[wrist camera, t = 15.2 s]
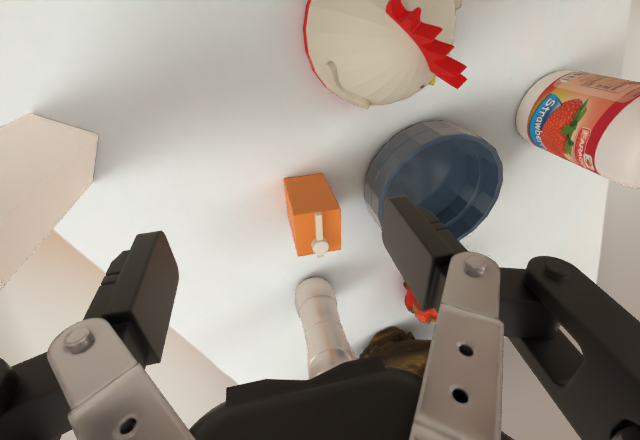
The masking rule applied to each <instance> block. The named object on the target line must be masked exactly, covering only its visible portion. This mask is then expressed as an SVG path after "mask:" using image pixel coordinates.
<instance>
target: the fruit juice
mask: <svg viewBox="0 0 640 440" xmlns="http://www.w3.org/2000/svg"><path fill="white" fill-rule="evenodd" d="M516 126H517V130H518V132H519V134H520V135H521V137H522V138H523V139H524V140H526V141H527V142H529V143H531V144H533V145H535V146H537V147H540V148H542V149H544V150H546V151H548V152H551V153H553V154H555V155H557V156H559V157H561V158H564V159H566V160H568V161H570V162H572V163H575V164H577V165H579V166H581V167H583V168H586V169H588V170H590V171H592V172H594V173H597V174H599V175H601V176H603V177H605V178H607V179H609V180H612V181H614V182H617V183H619V184H622V185H625V186H628V187H632V188H638V189H640V82H634V81H629V80H623V79H618V78H612V77H607V76H601V75H595V74H590V73H584V72H579V71H573V70H562V71H557V72H553V73H551V74H548V75H546V76H545V77H543V78H541V79H540V80H539V81H537V82H536V83H535V84H534V85H533V86H532V87H531V88H530V89H529V91H528V92H527V93H526V95H525V96H524V98H523V100H522V101H521V103H520V106H519V108H518V112H517V116H516Z"/></svg>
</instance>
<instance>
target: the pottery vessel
mask: <svg viewBox="0 0 640 440" xmlns="http://www.w3.org/2000/svg"><path fill="white" fill-rule="evenodd" d="M431 341H432V340H416V339H415V338H414V336H413V335H412V332H410V331H409V333H408V334H405V333H404V332H403V330H400V329H398V328H396V327H394V328H391V329H388V330H386V332H382V333H380V334H377V335H375V336H374V338H373V340H372V341H371V343H370V345H369V346H368V347H367V348H366V349H365V350H364V351H363V353H362V354H360V358H359V359H361V358H366V357H371V356H375V355H380V357H381V359H382V362H383V364H384V366H390V367H396V368H401V369H404V370H408V371H410V372H413V373H415V374H417V375H419V376H421V377H423V375H424V371H425V367H426V363H427V358H428V354H429V350H430V345H431Z"/></svg>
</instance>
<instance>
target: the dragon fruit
mask: <svg viewBox="0 0 640 440" xmlns="http://www.w3.org/2000/svg"><path fill="white" fill-rule="evenodd" d="M404 287H405V288H406V289H407V294H406V296H405V305H406V307H407V309H408V310H409V311H411V312H412V313H415V316H416V317H417V318H418V319H419V320H420V321H422V322H423V323H427V324H429V323H430V322H431V321H433V322H436V320H437V315H438V313H437V312H436V310H435V309H430V310H425V311H422V309H421V307H420V305H419V304H418V302H417V300H416V299H415V297H414V295H413V294H412V292H411V290H410V288H409V287H408V285H407V283H405V282H404Z"/></svg>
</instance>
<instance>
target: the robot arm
mask: <svg viewBox="0 0 640 440" xmlns="http://www.w3.org/2000/svg"><path fill="white" fill-rule="evenodd" d="M382 238H383V243H384V245H385V248H386V249H387V251H388V253H389V254H390V256H391V258H392V259H393V261H394V263H395V265H396V266H397V268H398V270H399V271H400V273H401V275H402V276H403V278H404V280H405V282H406V283H407V285H408V287H409V288H410V290H411V292H412V294H413V295H414V297H415V299H416V300H417V302H418V304H419V305H420V307H421V309H422V311H425V310H430V309H435V310H436V312H437V313H438V315H437V320H436V324H435V328H434V333H433V337H432V341H431V345H430V350H429V354H428V358H427V363H426V367H425V371H424V375H423V377H421V376H419V375H417V374H415V373H413V372H410V371H408V370H404V369H401V368H396V367H390V366H384V364H383V362H382V359H381V357H380V355H375V356H371V357H366V358H361V359H357V360H352V361H348V362H344V363H342V364H340V365H338V366H336V367H334V368H332V369H330V370H328V371H326V372H324V373H322V374H320V375H318V376H316V377H314V378H312V379H309V380H275V379H265V380H260V381H255V382H251V383H246V384H241V385H237V386H232V387H228V388H227V390H226V392H227V393H226V401H225V402H223V403H221V404H220V405H218V406H216V407H215V408H213V409H212V410H210V411H209V412H208V413H207V414H205V415H204V416H203V417H202V418H200V419H199V420H198V421H197V422H196V423H195V424H194V425H193V426H192V427H191V428H190V430H188V428H187V427H186V426H185V424H184V423H183V422H182V420H181V419H180V418H179V416H178V415H177V413H176V412H175V411H174V410H173V408H172V407H171V405H170V404H169V403H168V401H167V400H166V398H165V397H164V396H163V394H162V393H161V392H160V391H159V389H158V388H157V386H156V385H155V384H154V382H153V381H152V379H151V378H150V377H149V375H148V374H147V373H146V371H145V367H146V365H151V364H156V363H160V361H161V357H162V352H163V348H164V344H165V339H166V335H167V330H168V326H169V321H170V317H171V312H172V308H173V304H174V299H175V295H176V290H177V286H178V281H179V272H178V267H177V263H176V261H175V258H174V256H173V253H172V251H171V248H170V246H169V243H168V241H167V238H166V236H165V234H164V232H162V231H157V232H150V233H143V234H138V235H137V236H136V238H135V240H134V242H133V245H132V247H131V249H130V250H128V251H123V252H122V253H121V254H120V255H119V256H118V257H117V258H116V259H115V260H114V261H112V263H111V265H110V267H109V269H108V271H107V273H106V276H105V277H104V279H103V281H102V283H101V286H100V287H99V289H98V291H97V293H96V295H95V297H94V299H93V301H92V303H91V305H90V307H89V309H88V311H87V313H86V315H85V317H84V319H83V321H80V322H78V323H75V324H74V325H72V326H70V327H68V328H67V329H66V330H64V331H63V332H61V333H60V334H59V335H58V336H57V337H56V338H55V339H54V341H53V342H52V343H51V345H50V346H49V348H48V351H47V352H46V353H43V354H41V355H38V356H36V357H34V358H31V359H29V360H26V361H24V362H22V363H19V364H17V365H14V366H12V367H10V366H9V365H8V364H7V363H6V362H5V361H4V360H3V359H1V358H0V440H60V438H61V435H62V434H64V433H66V432H68V431H70V430H72V429H73V431H74V433H75V436H76V438H77V440H514V439H512V438H511V437H509V436H508V435H507V434H505V433H504V432H502V431H501V416H502V415H501V414H502V381H503V346H504V336H506V337H508V338H509V339H510V341H511V342H512V344H513V345H514V346H515V348H516V349H517V351H518V352H519V353H520V355H521V356H522V357H523V359H524V360H525V362H526V363H527V364H528V366H529V367H530V369H531V370H532V371H533V373H534V374H535V375H536V377H537V378H538V380H539V381H540V382H541V384H542V385H543V387H544V388H545V389H546V391H547V392H548V394H549V395H550V396H551V398H552V399H553V400H554V402H555V403H556V405H557V406H558V407H559V409H560V410H561V412H562V413H563V415H564V416H565V417H566V419H567V420H568V421H569V423H570V424H571V426H572V427H573V428H574V430H575V431H576V433H577V434H578V435H579V437H580V438H581V440H640V322H639V321H638V320H637V319H636V318H635V317H633V316H632V315H631V314H630V313H629V312H628V311H626V310H625V309H624V308H623V307H622V306H621V305H619V304H618V303H617V302H616V301H615V300H614V299H612V298H611V297H610V296H609V295H608V294H607V293H605V292H604V291H603V290H602V289H601V288H600V287H598V286H597V285H596V284H595V283H594V282H593V281H592V280H590V279H589V278H588V277H587V276H586V275H585V274H583V273H582V272H581V271H580V270H579V269H578V268H576V267H575V266H573V265H572V264H570V263H568V262H566V261H564V260H561V259H558V258H555V257H549V256H538V257H535V258H532V259H531V260H530V261H529V263H528V265H527V268H526V269H514V268H500V267H499V266H498V265H497V264H496V263H495V262H494V261H493V260H492V259H490V258H489V257H487V256H485V255H482V254H479V253H475V252H468V251H467V250H466V249H465V248H464V246H463V245H462V244H461V243H460V242H459V241H458V240H457V239H456V238H455V237H454V235H453V234H452V233H451V232H450V231H449V230H448V229H446V227H445V226H444V224H443V223H442V222H440V220H439V219H438V218H437V217H436V216H435V215H434V213H433V212H431V211H429V210H427V209H426V208H424V207H422V206H417V207H416V206H415V205H414V204H413V202H412V201H411V200H410V199H409V198H408V197H407V196H406V195H403V196H396V197H390V198H386V199H385V201H384V209H383V223H382ZM560 325H562V326H563V327H564V328H565V329H566V330H567V332H568V333H569V334H570V335H571V336H572V337H573V338H574V339H575V340H576V342H577V343H578V344H579V346H580V347H581V350H582V352H583V355H582V354H581V353H580V352H579V351H578V350H577V348H575V346H574V345H573V344H572V343H571V342H570V341H569V340H568V338H567V337H566V336H565V335H564V334H563V333H562V332H561V331H560V329H559V327H560Z"/></svg>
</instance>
